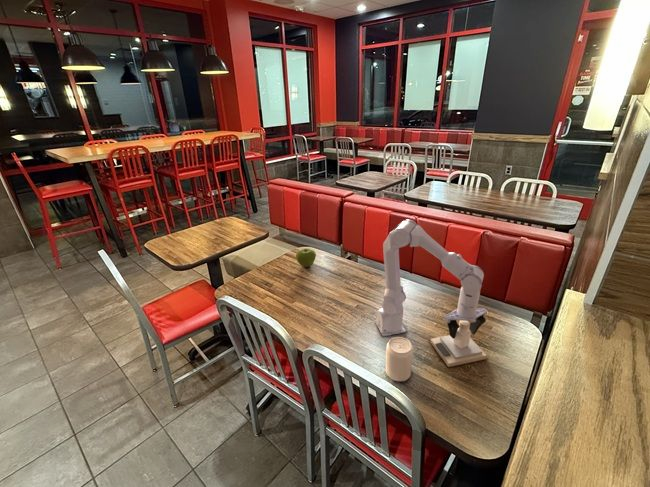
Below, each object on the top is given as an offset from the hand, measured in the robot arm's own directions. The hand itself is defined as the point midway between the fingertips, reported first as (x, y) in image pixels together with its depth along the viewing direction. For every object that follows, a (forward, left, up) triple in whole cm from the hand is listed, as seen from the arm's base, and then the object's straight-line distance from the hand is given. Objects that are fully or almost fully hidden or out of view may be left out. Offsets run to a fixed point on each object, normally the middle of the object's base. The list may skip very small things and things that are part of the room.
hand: (462, 334), depth 107 cm
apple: (-43, +76, -7) cm, 88 cm away
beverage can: (-25, -4, -7) cm, 26 cm away
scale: (-1, 0, -7) cm, 7 cm away
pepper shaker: (0, 0, -4) cm, 4 cm away
